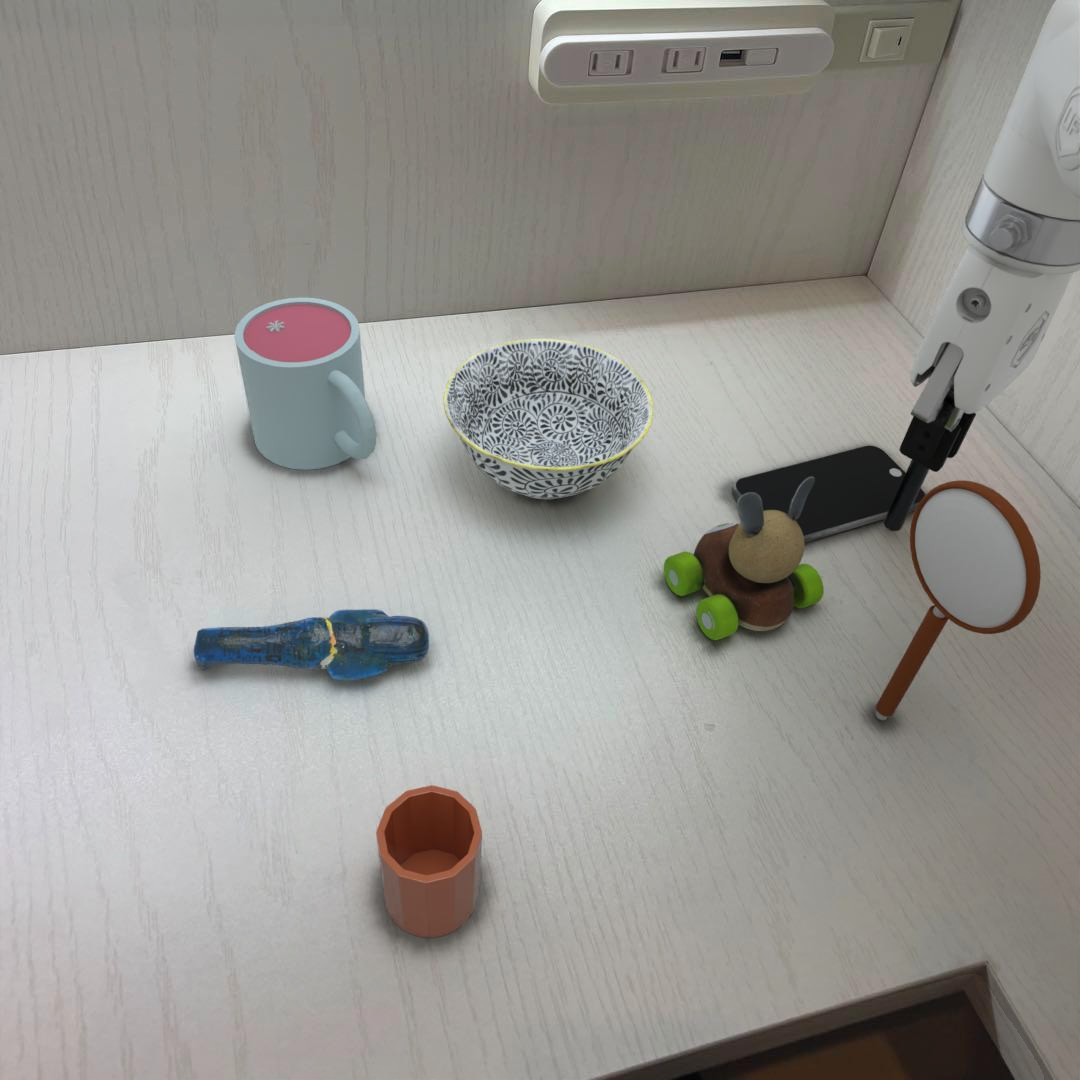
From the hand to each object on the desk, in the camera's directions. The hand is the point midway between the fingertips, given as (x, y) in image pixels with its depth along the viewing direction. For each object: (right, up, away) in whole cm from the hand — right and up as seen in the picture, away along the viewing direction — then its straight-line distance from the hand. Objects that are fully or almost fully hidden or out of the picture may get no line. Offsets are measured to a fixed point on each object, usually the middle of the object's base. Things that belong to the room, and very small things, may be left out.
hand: (927, 453), depth 70 cm
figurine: (-43, -15, -6) cm, 46 cm away
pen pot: (-34, -26, -16) cm, 46 cm away
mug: (-46, +1, +9) cm, 47 cm away
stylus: (-1, -5, +5) cm, 8 cm away
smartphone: (-5, -3, +9) cm, 10 cm away
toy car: (-14, -10, +1) cm, 17 cm away
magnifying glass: (-6, -18, -6) cm, 20 cm away
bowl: (-28, -1, +9) cm, 29 cm away
